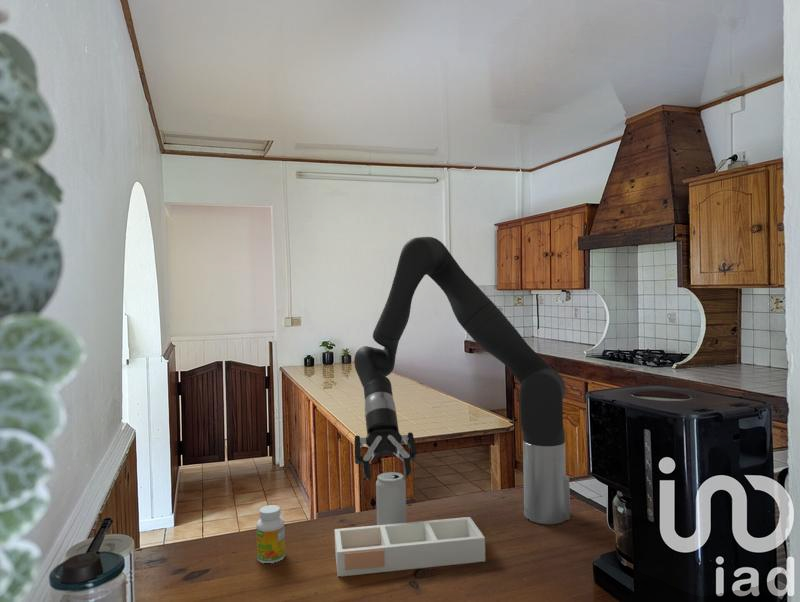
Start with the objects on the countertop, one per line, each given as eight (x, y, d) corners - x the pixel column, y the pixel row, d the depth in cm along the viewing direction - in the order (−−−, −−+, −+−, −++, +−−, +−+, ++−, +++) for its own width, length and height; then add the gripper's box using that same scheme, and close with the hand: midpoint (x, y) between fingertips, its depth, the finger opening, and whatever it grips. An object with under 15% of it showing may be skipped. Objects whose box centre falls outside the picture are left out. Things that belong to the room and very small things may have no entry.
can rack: (470, 538, 116) (470, 516, 116) (486, 562, 106) (485, 538, 106) (335, 551, 111) (334, 529, 111) (337, 577, 101) (337, 553, 101)
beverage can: (406, 537, 117) (405, 480, 117) (376, 537, 117) (374, 481, 117) (406, 524, 123) (405, 470, 123) (378, 524, 124) (376, 471, 123)
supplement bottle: (251, 562, 108) (250, 512, 108) (267, 549, 113) (265, 502, 113) (275, 566, 106) (274, 515, 106) (290, 553, 111) (289, 505, 111)
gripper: (352, 408, 131) (357, 472, 120) (411, 405, 133) (421, 467, 122) (351, 425, 137) (355, 488, 126) (408, 422, 139) (417, 483, 128)
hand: (388, 477), depth 124 cm, fingers open, 8 cm apart
